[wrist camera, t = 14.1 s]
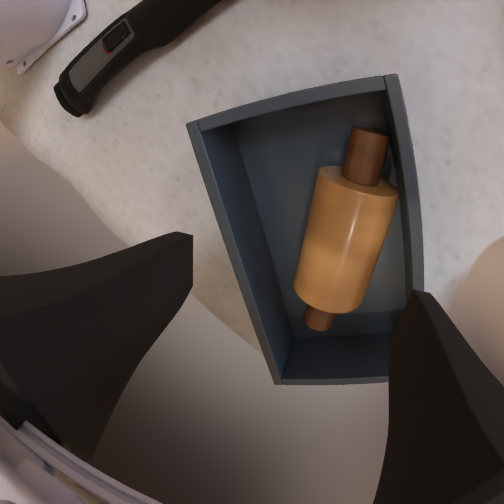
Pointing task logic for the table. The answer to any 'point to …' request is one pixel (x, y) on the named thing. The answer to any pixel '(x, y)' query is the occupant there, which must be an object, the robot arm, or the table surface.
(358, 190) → the rolling pin
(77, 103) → the electric trimmer
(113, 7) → the table surface
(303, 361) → the tin
